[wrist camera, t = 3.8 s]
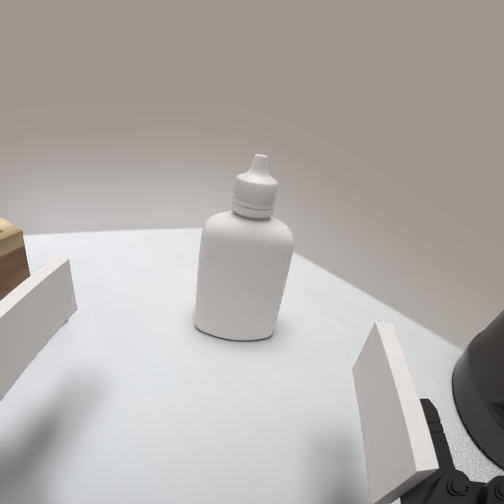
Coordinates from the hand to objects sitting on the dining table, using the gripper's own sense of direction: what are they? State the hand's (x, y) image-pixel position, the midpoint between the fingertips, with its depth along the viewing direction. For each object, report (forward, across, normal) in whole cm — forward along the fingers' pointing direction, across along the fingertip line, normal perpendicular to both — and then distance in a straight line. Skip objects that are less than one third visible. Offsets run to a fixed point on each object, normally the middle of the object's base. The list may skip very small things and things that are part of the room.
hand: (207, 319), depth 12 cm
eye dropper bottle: (+8, +1, -7) cm, 10 cm away
